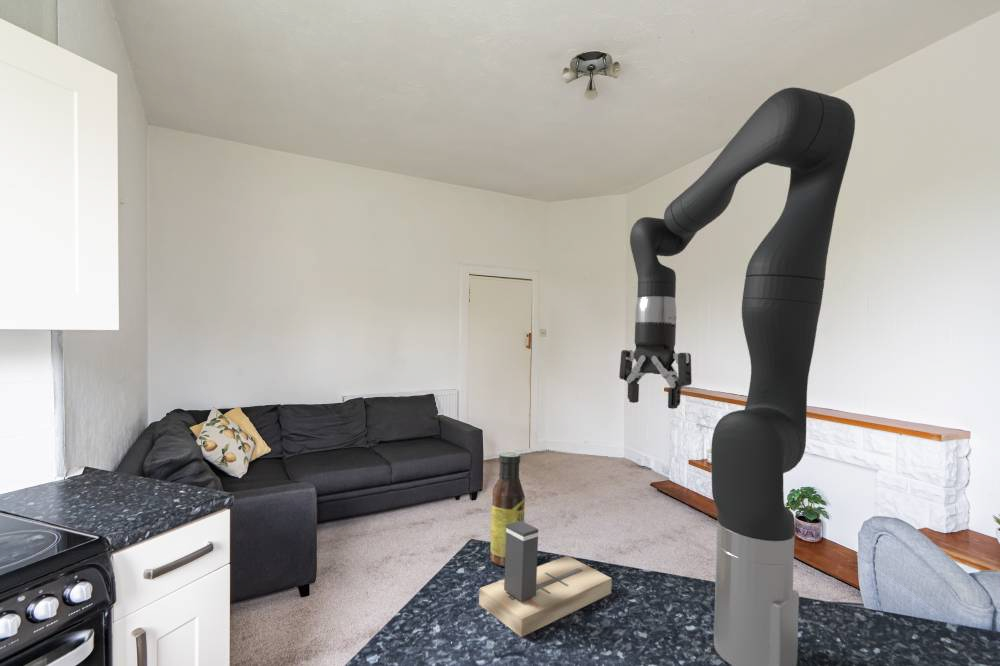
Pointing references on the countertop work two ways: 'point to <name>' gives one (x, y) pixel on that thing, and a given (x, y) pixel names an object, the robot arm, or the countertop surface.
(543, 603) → the fader console
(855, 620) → the countertop surface
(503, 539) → the sauce bottle
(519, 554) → the fader cap
